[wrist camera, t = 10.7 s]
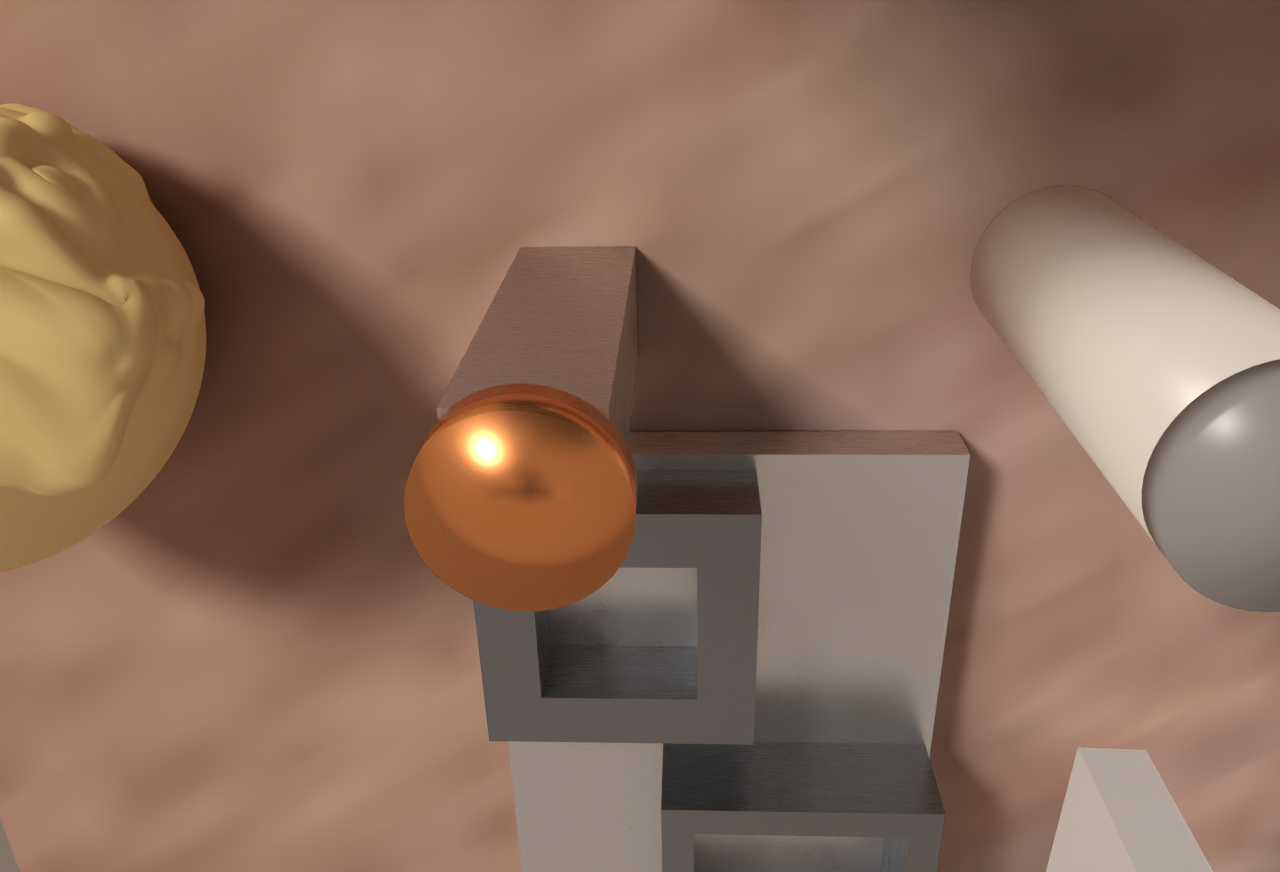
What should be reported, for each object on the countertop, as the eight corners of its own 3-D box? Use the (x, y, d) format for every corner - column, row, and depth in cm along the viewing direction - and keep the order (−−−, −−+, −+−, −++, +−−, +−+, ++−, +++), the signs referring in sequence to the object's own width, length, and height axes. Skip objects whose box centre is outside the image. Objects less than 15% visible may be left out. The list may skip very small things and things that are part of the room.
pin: (500, 230, 28) (389, 411, 18) (653, 228, 28) (631, 411, 18) (512, 371, 30) (417, 610, 20) (655, 370, 30) (637, 612, 20)
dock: (487, 432, 31) (458, 507, 27) (957, 431, 31) (998, 508, 26) (532, 895, 40) (515, 1003, 36) (897, 902, 39) (921, 1014, 35)
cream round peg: (981, 186, 27) (1191, 376, 16) (1151, 184, 27) (1489, 374, 16) (961, 342, 29) (1137, 610, 18) (1120, 341, 29) (1400, 612, 18)
